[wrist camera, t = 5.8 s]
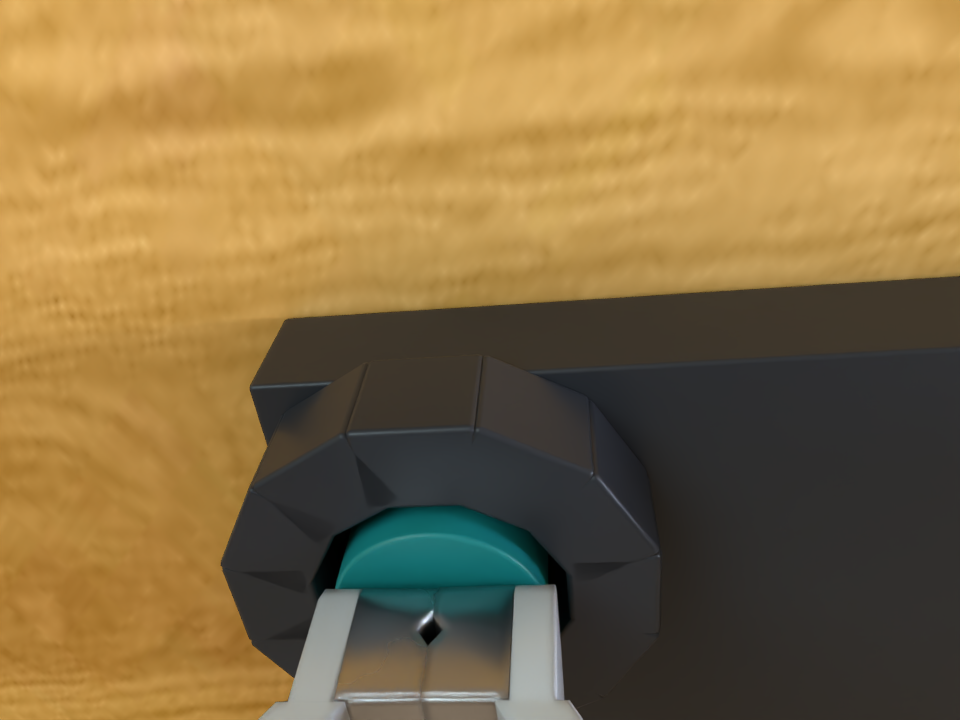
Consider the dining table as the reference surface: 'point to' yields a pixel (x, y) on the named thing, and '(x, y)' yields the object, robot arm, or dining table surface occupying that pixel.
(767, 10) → the dining table surface
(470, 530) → the button
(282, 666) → the scale
